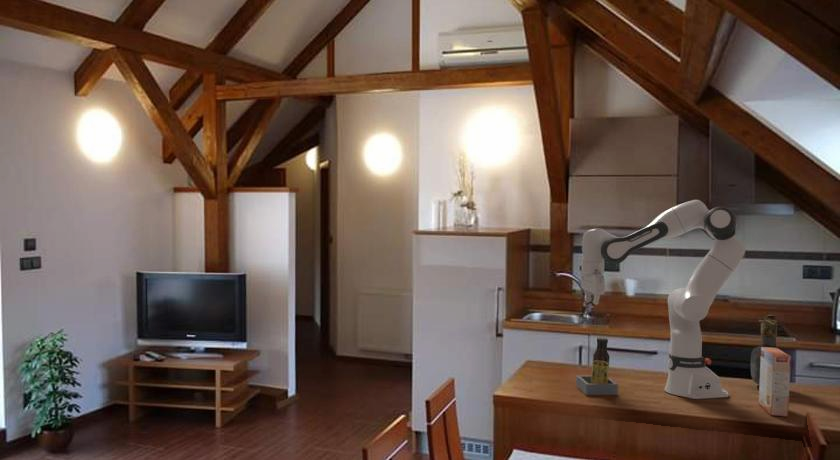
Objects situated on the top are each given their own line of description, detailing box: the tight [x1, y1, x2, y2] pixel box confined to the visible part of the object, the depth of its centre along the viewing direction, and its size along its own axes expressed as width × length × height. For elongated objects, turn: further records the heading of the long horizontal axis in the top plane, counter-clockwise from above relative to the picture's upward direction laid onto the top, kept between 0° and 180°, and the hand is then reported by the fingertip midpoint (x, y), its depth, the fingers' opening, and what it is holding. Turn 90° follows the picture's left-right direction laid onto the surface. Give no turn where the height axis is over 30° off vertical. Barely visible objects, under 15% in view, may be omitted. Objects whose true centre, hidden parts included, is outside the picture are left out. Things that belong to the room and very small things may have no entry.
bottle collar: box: [575, 375, 619, 396], centre depth 257 cm, size 12×13×4 cm
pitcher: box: [750, 311, 783, 391], centre depth 263 cm, size 11×19×30 cm, turn 163°
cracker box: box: [758, 347, 792, 418], centre depth 234 cm, size 14×6×21 cm, turn 168°
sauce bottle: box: [591, 337, 610, 384], centre depth 257 cm, size 6×6×20 cm
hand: (592, 302), depth 273 cm, fingers open, 8 cm apart
